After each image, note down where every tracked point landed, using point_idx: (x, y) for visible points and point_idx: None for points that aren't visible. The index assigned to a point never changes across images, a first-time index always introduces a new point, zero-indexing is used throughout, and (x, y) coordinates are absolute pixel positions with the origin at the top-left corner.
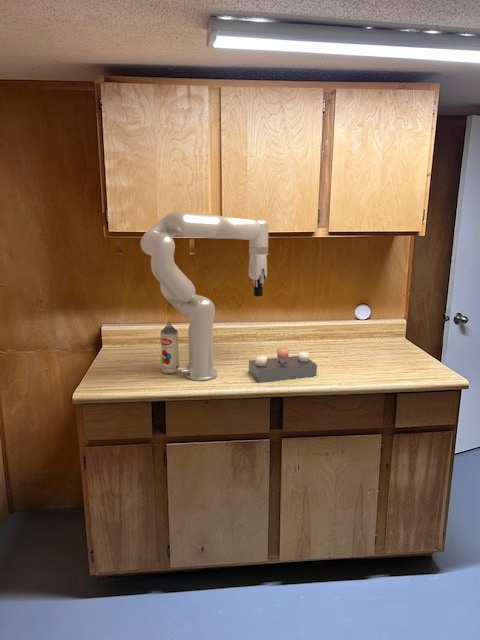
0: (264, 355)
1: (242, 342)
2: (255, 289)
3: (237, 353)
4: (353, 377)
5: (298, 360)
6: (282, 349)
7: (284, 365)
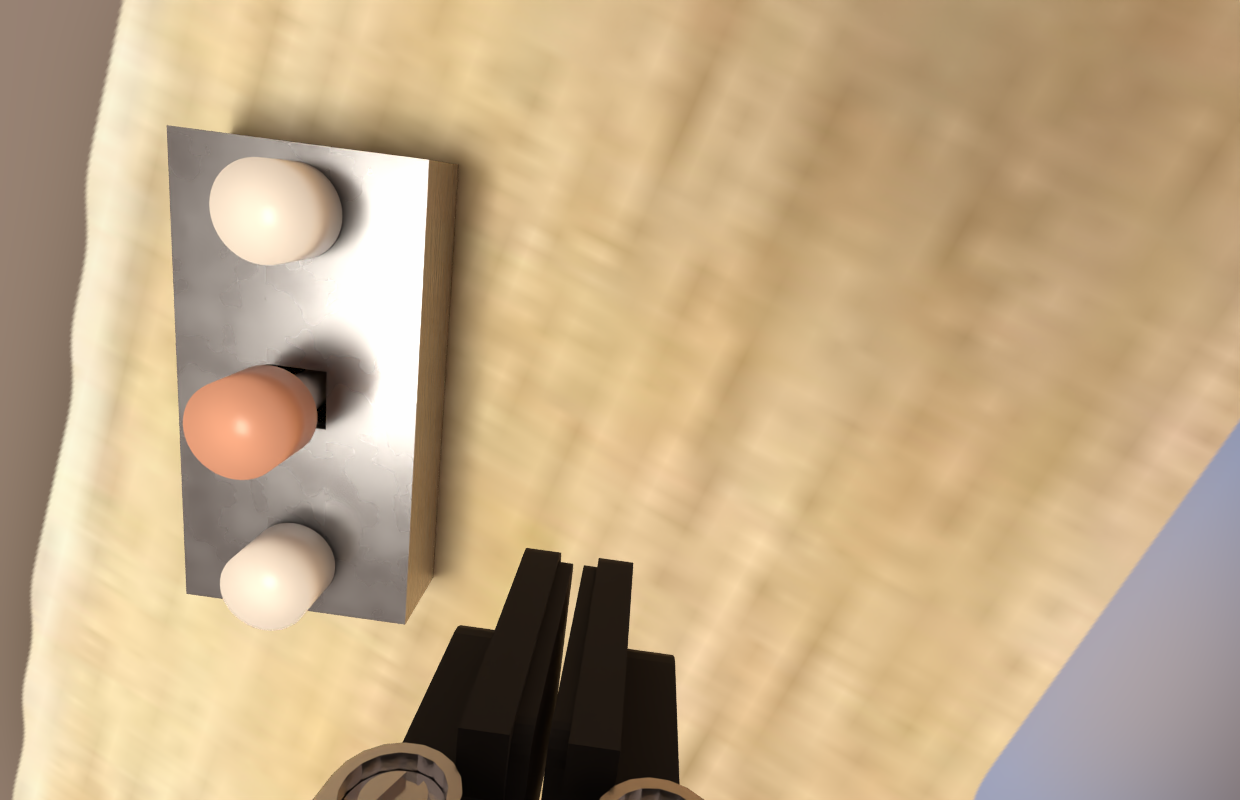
0: (290, 259)
1: (1194, 456)
2: (487, 672)
3: (931, 281)
4: (169, 724)
5: (292, 523)
6: (225, 423)
7: (227, 375)
